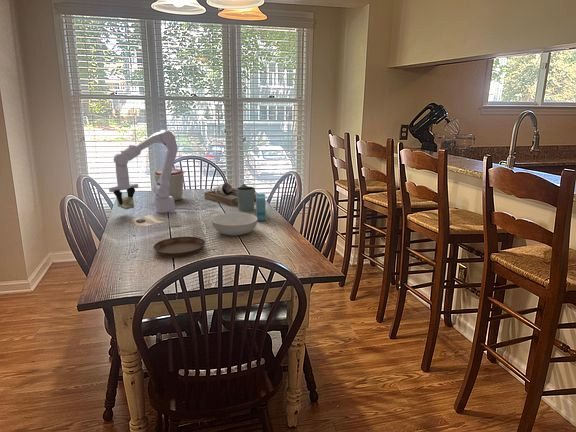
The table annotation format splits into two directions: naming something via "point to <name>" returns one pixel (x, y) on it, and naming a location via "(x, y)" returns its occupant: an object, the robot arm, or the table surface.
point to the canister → (173, 183)
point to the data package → (260, 207)
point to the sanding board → (148, 220)
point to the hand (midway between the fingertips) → (125, 203)
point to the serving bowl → (234, 223)
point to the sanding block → (126, 202)
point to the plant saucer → (179, 247)
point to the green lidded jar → (246, 198)
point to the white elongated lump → (225, 189)
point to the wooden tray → (223, 198)
